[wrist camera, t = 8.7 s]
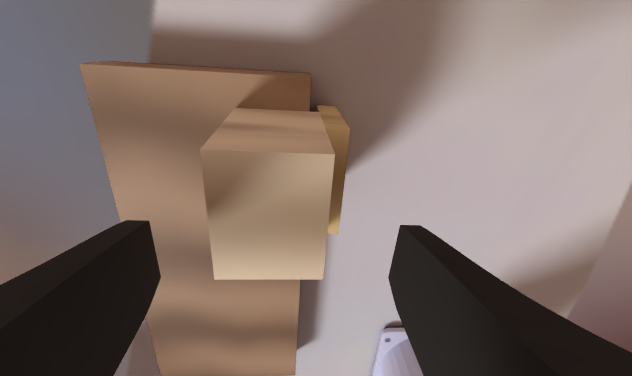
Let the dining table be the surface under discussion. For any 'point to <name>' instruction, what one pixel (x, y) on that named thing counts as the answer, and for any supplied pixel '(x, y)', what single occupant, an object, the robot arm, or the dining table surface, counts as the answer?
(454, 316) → the robot arm
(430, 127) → the dining table surface
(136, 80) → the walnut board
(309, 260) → the tan wood block
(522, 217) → the dining table surface
